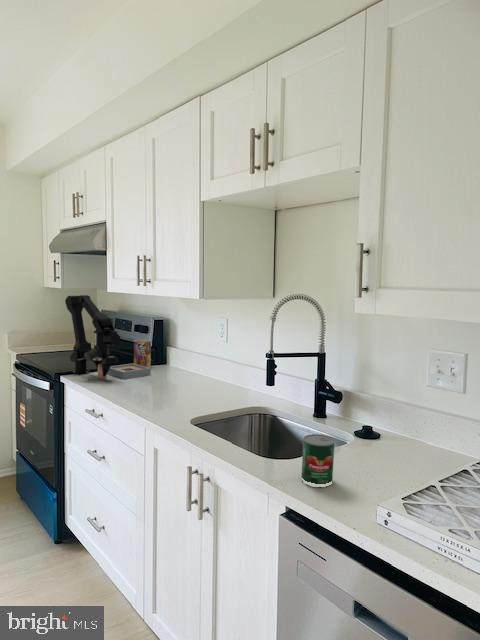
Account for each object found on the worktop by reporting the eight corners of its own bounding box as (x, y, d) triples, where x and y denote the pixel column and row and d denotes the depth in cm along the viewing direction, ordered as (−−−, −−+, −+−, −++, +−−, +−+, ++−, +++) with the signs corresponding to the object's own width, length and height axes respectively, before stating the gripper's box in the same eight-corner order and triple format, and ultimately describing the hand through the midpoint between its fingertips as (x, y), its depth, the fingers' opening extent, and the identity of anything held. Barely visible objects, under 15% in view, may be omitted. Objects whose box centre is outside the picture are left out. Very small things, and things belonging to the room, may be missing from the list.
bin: (105, 373, 239) (105, 366, 238) (133, 370, 250) (133, 363, 250) (122, 379, 228) (122, 372, 227) (150, 375, 239) (150, 368, 239)
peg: (96, 378, 228) (96, 364, 227) (103, 377, 230) (103, 363, 230) (100, 379, 225) (100, 365, 224) (108, 378, 228) (108, 364, 227)
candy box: (150, 367, 259) (151, 339, 258) (150, 368, 255) (150, 340, 254) (134, 367, 258) (134, 339, 256) (133, 368, 254) (133, 340, 252)
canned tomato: (312, 490, 115) (314, 446, 114) (295, 477, 122) (297, 436, 121) (338, 485, 119) (341, 442, 118) (320, 473, 126) (322, 432, 125)
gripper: (77, 342, 227) (77, 374, 228) (96, 347, 214) (96, 381, 215) (98, 340, 235) (98, 371, 236) (118, 345, 222) (118, 378, 223)
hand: (102, 375), depth 227 cm, fingers closed on peg, 4 cm apart
